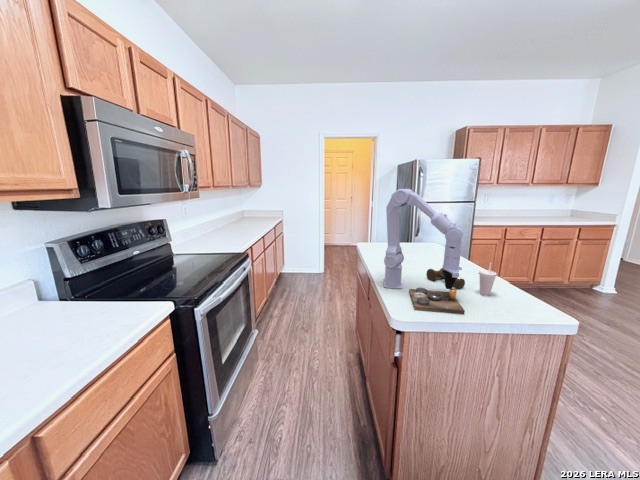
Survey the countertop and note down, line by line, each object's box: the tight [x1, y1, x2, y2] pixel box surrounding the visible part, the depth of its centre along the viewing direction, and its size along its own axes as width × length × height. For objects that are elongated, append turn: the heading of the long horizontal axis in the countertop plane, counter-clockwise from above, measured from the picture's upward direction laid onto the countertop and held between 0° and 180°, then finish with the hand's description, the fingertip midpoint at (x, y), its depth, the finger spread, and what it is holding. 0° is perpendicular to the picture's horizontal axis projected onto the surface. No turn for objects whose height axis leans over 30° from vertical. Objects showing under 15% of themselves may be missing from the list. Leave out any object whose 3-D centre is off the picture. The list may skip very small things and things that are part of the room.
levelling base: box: [408, 287, 466, 315], centre depth 103 cm, size 17×17×3 cm
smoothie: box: [478, 262, 498, 297], centre depth 110 cm, size 6×6×14 cm
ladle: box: [428, 288, 458, 301], centre depth 102 cm, size 10×5×4 cm, turn 78°
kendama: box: [426, 267, 466, 290], centre depth 125 cm, size 6×10×20 cm
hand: (448, 288), depth 107 cm, fingers closed
